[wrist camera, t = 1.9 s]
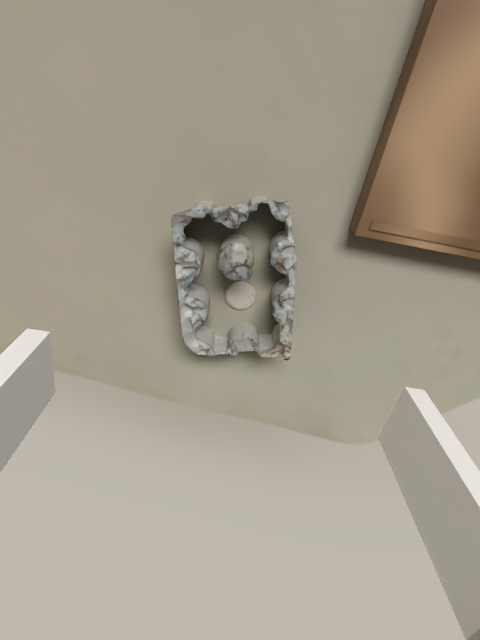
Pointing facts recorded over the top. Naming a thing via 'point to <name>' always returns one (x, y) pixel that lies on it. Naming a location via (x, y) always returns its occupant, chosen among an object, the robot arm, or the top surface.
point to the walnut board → (431, 141)
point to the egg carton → (239, 295)
